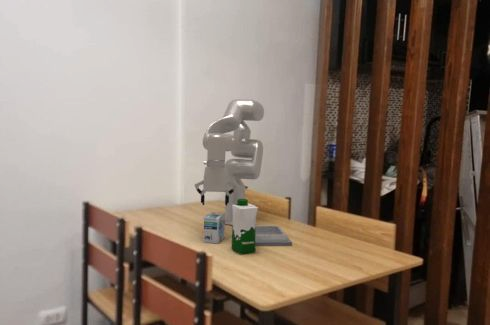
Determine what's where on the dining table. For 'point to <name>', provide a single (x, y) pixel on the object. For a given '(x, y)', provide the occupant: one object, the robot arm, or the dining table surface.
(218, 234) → the light bulb box
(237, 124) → the robot arm
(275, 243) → the dock board
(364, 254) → the dining table surface
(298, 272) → the dining table surface
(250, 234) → the milk carton
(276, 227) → the aluminium frame
